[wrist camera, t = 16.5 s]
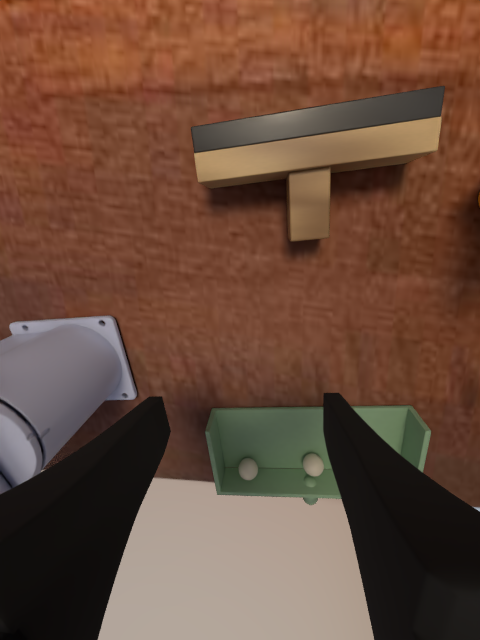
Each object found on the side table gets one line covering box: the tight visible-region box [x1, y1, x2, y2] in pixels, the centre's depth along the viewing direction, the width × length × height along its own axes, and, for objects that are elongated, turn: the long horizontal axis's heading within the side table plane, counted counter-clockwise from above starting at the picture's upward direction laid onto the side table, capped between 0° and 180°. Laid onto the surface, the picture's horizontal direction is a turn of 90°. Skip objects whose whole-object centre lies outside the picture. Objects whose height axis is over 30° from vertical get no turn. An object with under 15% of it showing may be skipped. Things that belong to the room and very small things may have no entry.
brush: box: [191, 86, 445, 242], centre depth 15 cm, size 12×3×6 cm
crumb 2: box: [303, 453, 324, 477], centre depth 23 cm, size 2×2×2 cm
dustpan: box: [205, 405, 431, 505], centre depth 23 cm, size 10×17×3 cm, turn 96°
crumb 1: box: [239, 458, 258, 480], centre depth 24 cm, size 2×2×2 cm
